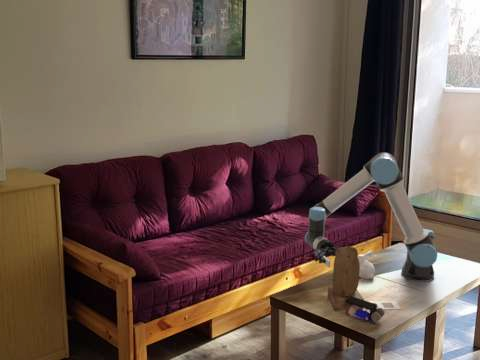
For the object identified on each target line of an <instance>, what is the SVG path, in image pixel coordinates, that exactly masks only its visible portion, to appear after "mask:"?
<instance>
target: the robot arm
mask: <svg viewBox="0 0 480 360" xmlns="http://www.w3.org/2000/svg"><path fill="white" fill-rule="evenodd" d="M362 168H363V169H361V170H360V171H359V172H358V173H356V174H355V175H353V176H352V177H351V178H350V179H348V180H347V181H346V182H345V183H343V184H342V185H341V186H339V187H338V188H337V189H335V190H334V191H333V192H332V193H330V194H329V195H328V196H327V197H326V198H324V199H323V200H321V202H319V203H316V204H315V205H314V206H313V207H311V208H309V213H308V230H307V231H306V233H305V235H304V241H305V242H306V244H307V245H308V247H310V248H312V249H314V262H318V263H319V264H322V263H323V264H324V265H325V266H326V267H327V268H331V260H330V259H329V258H330V257H336V254H335V252H336V250H337V249H339V248H337V247H336V246H335V244H334V243H333V242H332V241H330V240H329V239H328V238H327V237H325V228H326V227H325V225H326V224H325V223H326V219H327V218H328V217H329V216H330V215H332V214H333V213H334V212H335V211H336V210H338V209H339V208H341V207H342V206H343V205H345V203H347V202H348V201H351V199H352V198H354V197H355V196H356V195H358V194H359V193H360V192H362V191H363V190H364V189H366V188H367V187H368V186H370V185H371V184H373V182H375V183H376V186H377V187H378V190H379V191H383V193H384V194H385V196H386V199H387V200H388V203H389V205H390V207H391V209H392V212H393V214H394V217H395V218H396V220H397V223H398V224H399V227H400V229H401V231H402V233H403V235H404V237H405V238H404V240H403V243H404V245H405V247H406V258H405V261H404V262H403V266H402V267H401V272H400V273H401V275H402V276H403V277H405V278H407V279H410V280H413V281H419V282H427V281H432V280H434V279H435V270H434V266H433V264H435V263H436V261H437V258H438V250H437V248H436V245H435V242H434V240H435V232H434V231H433V230H432V229H428V228H424V227H423V226H422V225H421V221H420V220H419V217H418V215H417V214H416V212H415V209H414V207H413V205H412V202H411V200H410V198H409V196H408V193H407V191H406V189H405V187H404V185H403V181H404V176H403V174H402V172H401V171H400V168H399V166H398V162H397V159H396V157H394V155H392V154H390V153H389V152H379V153H376V155H374V156H373V157H372V158H371V159H370V160H369V161H368V162H367V163H365V164H364V165H363V167H362ZM341 247H342V246H340V248H341ZM358 255H359V252H357V257H358ZM358 259H359V263H360V258H358Z"/></svg>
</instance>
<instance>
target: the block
mask: <svg viewBox="0 0 480 360" xmlns="http://www.w3.org/2000/svg"><path fill="white" fill-rule="evenodd" d="M340 247H341V248H338V249H337V250H336V252H335V254H336V256H334V259H333V260H334V261H333V269H332V270H333V271H332V287H333V292H334V293H335V294H337V295H339V296H343V297H348V296H351V295H352V294H354V293H355V292H356V290H358V287H359V282H360V277H359V272H360V263H359V259H358V257H357V253H358V249H357V247H356V248H355V247H353V246H349V245H346V246H340Z"/></svg>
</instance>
